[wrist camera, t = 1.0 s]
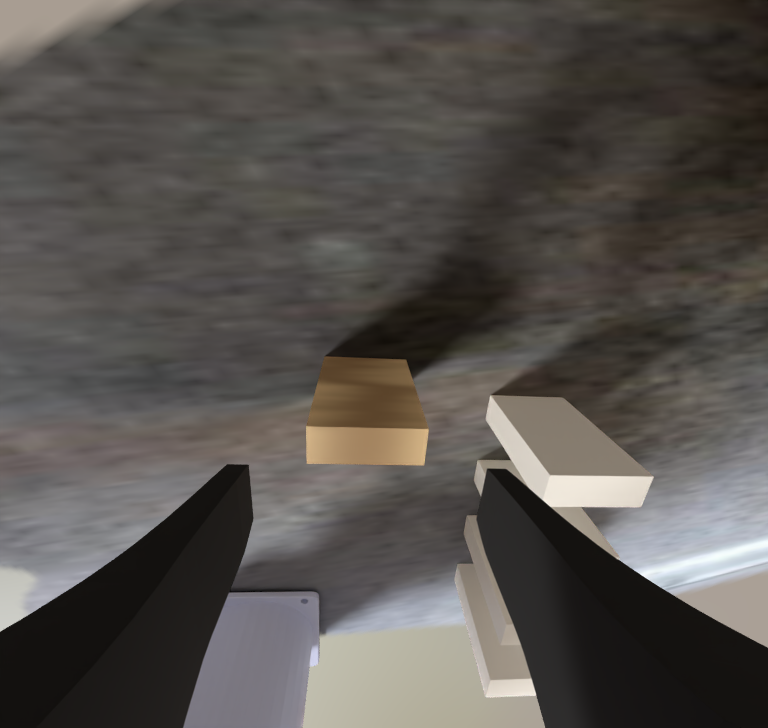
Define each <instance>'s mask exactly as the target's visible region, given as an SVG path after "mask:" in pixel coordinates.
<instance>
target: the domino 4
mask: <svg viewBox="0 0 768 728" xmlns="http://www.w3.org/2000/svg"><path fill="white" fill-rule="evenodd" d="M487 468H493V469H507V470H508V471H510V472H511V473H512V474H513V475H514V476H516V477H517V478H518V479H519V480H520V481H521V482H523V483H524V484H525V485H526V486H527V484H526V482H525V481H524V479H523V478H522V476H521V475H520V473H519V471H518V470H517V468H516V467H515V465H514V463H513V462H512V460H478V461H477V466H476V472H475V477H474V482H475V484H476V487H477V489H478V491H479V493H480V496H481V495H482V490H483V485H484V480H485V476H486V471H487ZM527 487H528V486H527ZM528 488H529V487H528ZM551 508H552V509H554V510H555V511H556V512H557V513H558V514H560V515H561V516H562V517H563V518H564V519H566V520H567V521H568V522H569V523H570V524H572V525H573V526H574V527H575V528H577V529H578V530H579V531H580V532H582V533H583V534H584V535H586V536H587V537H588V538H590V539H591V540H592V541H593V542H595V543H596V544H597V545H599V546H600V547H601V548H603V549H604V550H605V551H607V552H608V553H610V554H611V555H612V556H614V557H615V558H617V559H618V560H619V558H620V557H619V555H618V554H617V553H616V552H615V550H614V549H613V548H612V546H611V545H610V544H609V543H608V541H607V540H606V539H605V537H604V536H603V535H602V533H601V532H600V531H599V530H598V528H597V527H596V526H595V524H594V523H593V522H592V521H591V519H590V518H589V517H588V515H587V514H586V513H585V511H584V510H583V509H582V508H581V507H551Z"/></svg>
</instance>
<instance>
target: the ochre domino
mask: <svg viewBox="0 0 768 728" xmlns="http://www.w3.org/2000/svg"><path fill="white" fill-rule="evenodd" d="M428 431H429V428H428V425H427V422H426V419H425V416H424V413H423V410H422V407H421V404H420V401H419V398H418V395H417V392H416V389H415V386H414V383H413V380H412V376H411V373H410V370H409V367H408V364H407V361H406V360H404V359H378V358H352V357H326V356H325V357H324V361H323V365H322V368H321V372H320V376H319V380H318V384H317V387H316V391H315V395H314V399H313V403H312V406H311V410H310V414H309V418H308V422H307V425H306V440H307V464H369V465H424V462H425V454H426V446H427V439H428Z"/></svg>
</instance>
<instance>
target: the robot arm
mask: <svg viewBox="0 0 768 728" xmlns="http://www.w3.org/2000/svg"><path fill="white" fill-rule="evenodd" d="M476 520H477V524H478V528H479V532H480V536H481V540H482V544H483V547H484V551H485V554H486V557H487V559H488V562H489V564H490V567H491V569H492V572H493V575H494V577H495V580H496V582H497V585H498V587H499V590H500V592H501V595H502V597H503V600H504V602H505V605H506V607H507V610H508V612H509V615H510V617H511V620H512V622H513V625H514V627H515V630H516V633H517V635H518V638H519V641H520V644H521V647H522V649H523V652H524V656H525V659H526V662H527V666H528V669H529V672H530V676H531V679H532V682H533V686H534V689H535V692H536V696H537V699H538V703H539V706H540V710H541V713H542V717H543V721H544V724H545V728H768V648H767V647H765V646H763V645H761V644H759V643H757V642H756V641H754V640H752V639H750V638H748V637H746V636H744V635H742V634H741V633H739V632H737V631H735V630H733V629H731V628H729V627H727V626H726V625H724V624H722V623H720V622H718V621H716V620H715V619H713V618H711V617H709V616H708V615H706V614H704V613H702V612H700V611H699V610H697V609H695V608H693V607H692V606H690V605H688V604H687V603H685V602H683V601H682V600H680V599H678V598H677V597H675V596H674V595H672V594H670V593H669V592H667V591H665V590H664V589H662V588H660V587H659V586H657V585H656V584H654V583H652V582H651V581H649V580H648V579H646V578H645V577H643V576H642V575H640V574H639V573H637V572H636V571H634V570H633V569H631V568H630V567H628V566H627V565H625V564H624V563H622V562H621V561H620V560H618V559H617V558H615V557H614V556H612V555H611V554H610V553H608V552H607V551H605V550H604V549H603V548H601V547H600V546H599V545H597V544H596V543H595V542H593V541H592V540H591V539H590V538H588V537H587V536H586V535H584V534H583V533H582V532H580V531H579V530H578V529H577V528H575V527H574V526H573V525H572V524H570V523H569V522H568V521H567V520H566V519H564V518H563V517H562V516H561V515H560V514H558V513H557V512H556V511H555V510H554V509H552V508H551V507H550V506H549V505H548V504H547V503H545V502H544V501H543V500H542V499H541V498H540V497H539V496H537V495H536V494H535V493H534V492H533V491H532V490H531V489H529V488H528V487H527V486H526V485H525V484H524V483H523V482H521V481H520V480H519V479H518V478H517V477H516V476H514V475H513V474H512V473H511V472H510V471H508V470H507V469H493V468H487V471H486V476H485V480H484V485H483V490H482V495H481V499H480V504H479V509H478V514H477V518H476ZM252 522H253V509H252V497H251V486H250V475H249V465H234V464H227V465H226V466H225V467H224V468H223V469H221V470H220V471H219V472H218V473H217V474H216V475H215V476H214V477H212V478H211V479H210V480H209V481H208V482H207V483H206V484H205V485H204V486H203V487H201V488H200V489H199V490H198V491H197V492H196V493H195V494H194V495H193V496H191V497H190V498H189V499H188V500H187V501H186V502H185V503H184V504H182V505H181V506H180V507H179V508H178V509H177V510H175V511H174V512H173V513H172V514H171V515H170V516H169V517H167V518H166V519H165V520H164V521H163V522H161V523H160V524H159V525H158V526H156V527H155V528H154V529H153V530H151V531H150V532H149V533H148V534H146V535H145V536H144V537H143V538H141V539H140V540H139V541H138V542H137V543H135V544H134V545H133V546H131V547H130V548H129V549H127V550H126V551H125V552H123V553H122V554H120V555H119V556H118V557H116V558H115V559H114V560H112V561H111V562H109V563H108V564H106V565H105V566H104V567H102V568H101V569H99V570H98V571H96V572H95V573H94V574H92V575H91V576H89V577H88V578H86V579H85V580H83V581H82V582H80V583H79V584H77V585H76V586H74V587H72V588H71V589H69V590H68V591H66V592H64V593H63V594H61V595H60V596H58V597H57V598H55V599H53V600H52V601H50V602H49V603H47V604H45V605H44V606H42V607H41V608H39V609H37V610H36V611H34V612H33V613H31V614H30V615H28V616H26V617H25V618H23V619H21V620H20V621H18V622H16V623H14V624H13V625H11V626H9V627H7V628H6V629H4V630H2V631H1V632H0V728H302V727H303V719H304V710H305V701H306V693H307V684H308V675H309V667H310V666H315V665H317V664H318V663H319V594H318V593H316V592H313V591H308V592H233V593H229V591H230V589H231V586H232V584H233V581H234V578H235V576H236V573H237V571H238V568H239V566H240V563H241V560H242V558H243V555H244V552H245V549H246V545H247V541H248V538H249V534H250V530H251V526H252Z"/></svg>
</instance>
